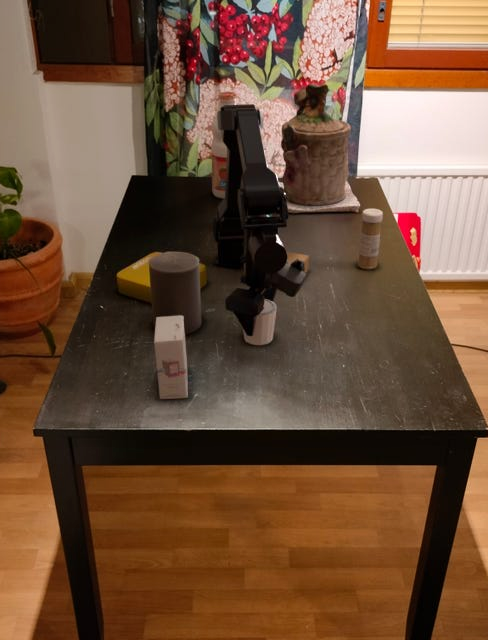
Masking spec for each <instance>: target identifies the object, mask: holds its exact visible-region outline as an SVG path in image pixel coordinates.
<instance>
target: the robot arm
mask: <svg viewBox="0 0 488 640" xmlns="http://www.w3.org/2000/svg"><path fill="white" fill-rule="evenodd" d="M217 111H218V110H217ZM216 114H217V123H218V130H221V135H222V139H223V142H224V144H225V145H226V147H227V162H226V186H225V198H224V199H223V198H222V200H221V201H220V202H219V204H218V205H217V207H216V215H214V217H213V223H212V235H213V239H214V242H215V243H217V260H215V262H214V265H215V266H221V267H226V268H232V269H237V270H241V269H242V268H243V274H242V275H241V276H240V277H239V280H240V281H239V283H240V284H244V285H246V286H248V287H249V288H247V289H246V288H241V287H236V288H235V289H233V291H231V292H230V293H229V295H228V296H226V298H225V310H226V311H229V312H232V313H233V314H234V316H235V317H236V319H237V320H238V322H239V324H240V325H241V328H242V330H243V329H244V331H245V333H246V334H247V336H253V333H254V328H255V322H256V317H257V316H258V315H259V314H260V313H261V312H262V310H263V309H264V307H263V306H264V301H265V299H268V300H270V301H273V302H275V301H274V300H275V298H276V295H277V291H280V292H282V293H284V294H285V295H286V296H288V297H290V298H294V297H296V296H297V294H298V293H299V291H300V290H301V288H302V286H303V284H304V282H305V279H306V278H307V273H306V271H305V266H304V261H302V260H300V259H296V260H295V261H293V262H292V263H291V264H290V265H289V262H287V252H288V251H287V249H286V248H285V246H284V243H283V242H282V239H281V238H280V236H279V228H287V227H288V223H287V220H289V217H290V215H289V212H288V207H287V200H286V194H285V193H284V190H283V188H282V187H280V186H279V182H280V181H279V179H278V175H277V173H276V172H275V171H273V170H272V169H271V168H270V167H269V166H268V161H267V155H266V151H265V146H264V145H265V144H264V140H263V135H262V130H264V127H265V126H264V109H260V108H256V106H255V103H249V104H248V103H247V104H246V103H245V104H243V103H242V104H236V105H224V106H223V107H221V109H220V111H218V113H217V112H216ZM278 208H279V210H278ZM278 212H279V216H277V214H278ZM269 214H272V215H276V216H272V217H269V216H268V215H269Z"/></svg>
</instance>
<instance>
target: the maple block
mask: <svg viewBox="0 0 488 640" xmlns="http://www.w3.org/2000/svg"><path fill="white" fill-rule="evenodd" d="M286 252H287V262H289V265H290V264H291V263H292V262H293V261H295V260H296V259H300V260H302V261H304V266H305V271H306V274H307V273H308V272H309V258H310V257H309V256H310V255H308V254H303V253H302V254H301V253H296V252H290V251H286Z"/></svg>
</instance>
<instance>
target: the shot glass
mask: <svg viewBox="0 0 488 640" xmlns="http://www.w3.org/2000/svg"><path fill="white" fill-rule="evenodd" d="M263 307H264V309H263V310H262V312H261V313H260V314H259V315H258V316H257V317H256V322H255V328H254V333H253V336H247V334H246V333H245V331H244V329H243V328H242V331H243V338H244V339H243V340H244V341H245V342H246V343H248V344H250V345H254V346H264V345H268V344H270V343H271V342H272V341H273V339H274V333H275V331H274V330H275V325H276V316H277V309H278V308H277V307H278V305H277V304H276V303H275V301H270V300H268V299H265V301H264V306H263Z"/></svg>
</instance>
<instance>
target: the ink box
mask: <svg viewBox="0 0 488 640" xmlns="http://www.w3.org/2000/svg"><path fill="white" fill-rule="evenodd" d="M153 338H154V340H153V346H154V355H155V364H156V374H157V382H158V383H157V384H158V393H159V394H158V395H159V400H175V399H186V398H189V389H188V388H189V383H188V381H189V380H188V379H189V377H188V373H189V372H188V359H187V346H186V345H187V343H186V334H185V331H184V317H183V316H182V315H179V316H164V317H156V326H155V328H154V337H153Z"/></svg>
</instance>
